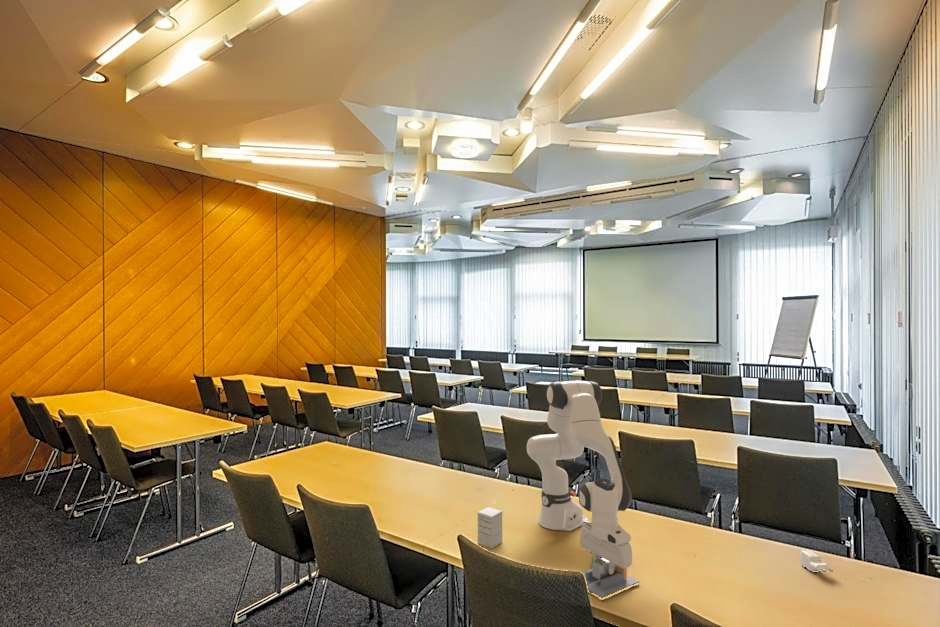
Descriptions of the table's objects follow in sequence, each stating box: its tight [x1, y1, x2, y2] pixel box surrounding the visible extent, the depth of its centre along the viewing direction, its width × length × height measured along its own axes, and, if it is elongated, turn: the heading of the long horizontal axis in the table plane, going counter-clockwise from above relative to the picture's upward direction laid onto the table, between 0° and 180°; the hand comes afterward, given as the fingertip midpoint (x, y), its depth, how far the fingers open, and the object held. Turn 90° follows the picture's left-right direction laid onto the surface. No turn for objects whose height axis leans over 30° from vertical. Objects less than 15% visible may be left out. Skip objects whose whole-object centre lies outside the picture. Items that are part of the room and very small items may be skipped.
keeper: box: [582, 565, 640, 598], centre depth 171 cm, size 18×14×7 cm
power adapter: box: [799, 549, 834, 573], centre depth 179 cm, size 11×5×6 cm, turn 6°
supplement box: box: [477, 506, 503, 549], centre depth 201 cm, size 7×7×13 cm
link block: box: [591, 558, 616, 580], centre depth 171 cm, size 8×4×5 cm, turn 123°
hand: (604, 570), depth 171 cm, fingers closed on link block, 3 cm apart
